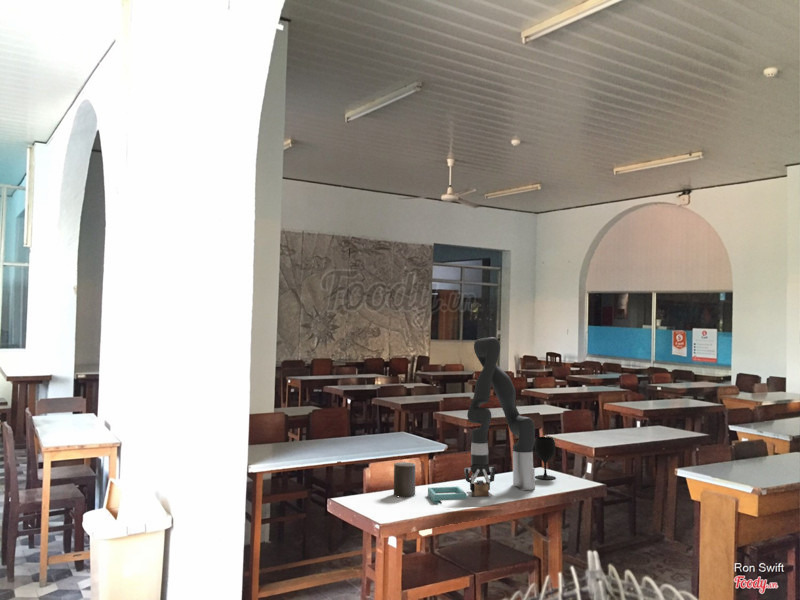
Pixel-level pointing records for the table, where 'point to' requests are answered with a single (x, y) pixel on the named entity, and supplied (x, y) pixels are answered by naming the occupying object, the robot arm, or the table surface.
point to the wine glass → (545, 454)
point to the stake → (479, 496)
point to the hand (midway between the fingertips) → (479, 491)
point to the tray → (438, 497)
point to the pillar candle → (404, 479)
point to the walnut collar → (481, 489)
